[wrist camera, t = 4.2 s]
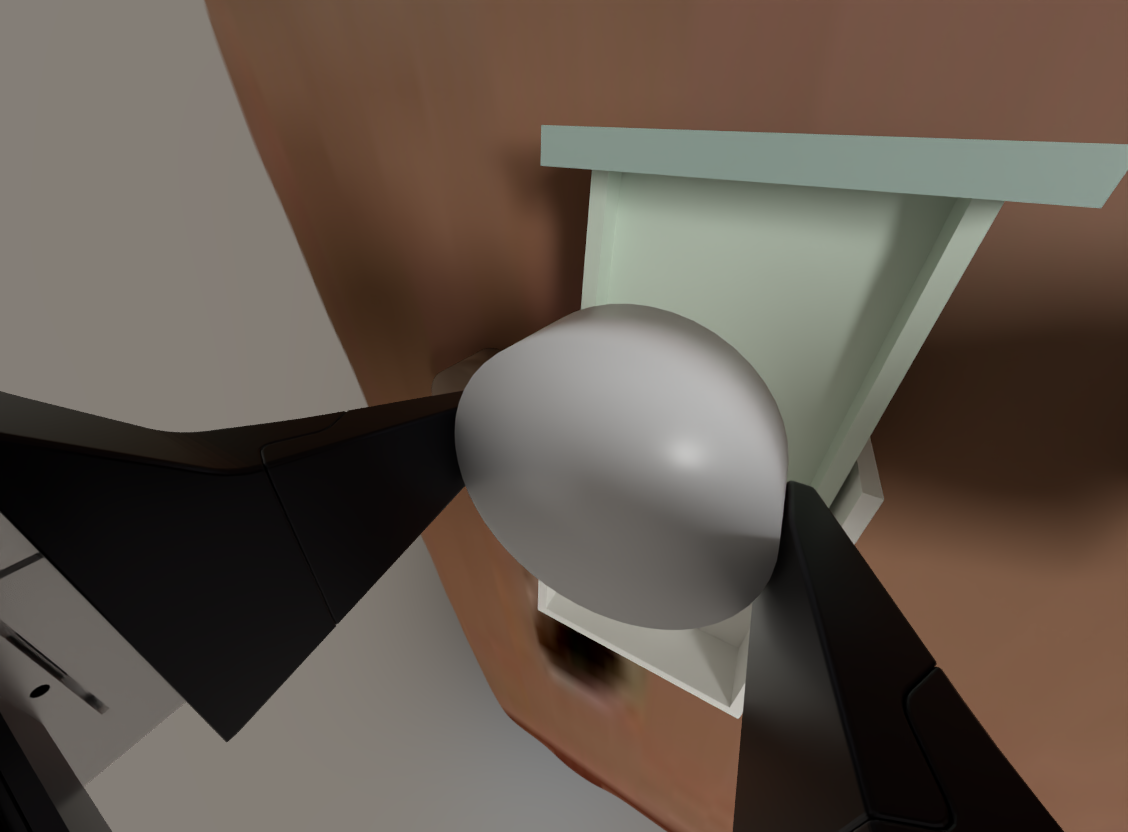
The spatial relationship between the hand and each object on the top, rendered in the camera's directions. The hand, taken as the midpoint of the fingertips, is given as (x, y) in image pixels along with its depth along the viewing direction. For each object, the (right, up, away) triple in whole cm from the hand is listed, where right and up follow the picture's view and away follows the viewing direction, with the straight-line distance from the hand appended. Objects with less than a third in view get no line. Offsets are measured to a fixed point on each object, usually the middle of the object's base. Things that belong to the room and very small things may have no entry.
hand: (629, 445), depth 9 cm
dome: (0, 0, 0) cm, 0 cm away
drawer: (+5, +2, +8) cm, 10 cm away
